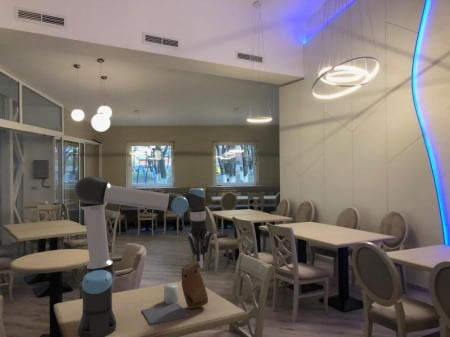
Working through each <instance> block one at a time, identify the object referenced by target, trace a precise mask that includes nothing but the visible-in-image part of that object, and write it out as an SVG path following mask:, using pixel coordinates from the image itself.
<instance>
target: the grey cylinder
mask: <svg viewBox="0 0 450 337" xmlns="http://www.w3.org/2000/svg"><path fill="white" fill-rule="evenodd" d="M178 301H179V285H178V284H176V283H167V284H164V285H163V303H164V304H165V305H171V304H176V303H178Z"/></svg>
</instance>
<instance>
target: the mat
mask: <svg viewBox="0 0 450 337" xmlns="http://www.w3.org/2000/svg"><path fill="white" fill-rule="evenodd" d="M141 312H142V314H143V315H144V318H145V319H146V321H147V322H148V323H149V325H150V326H152V325H153V326H154V325H157V324H161V323H167V322H172V321H175V320H180V319H186V318H189V317H190V315H189V314H188V313H187V311H186V310H185V309H184V308H183V307H182V306H181V305H180V304H179V303H178V302H177V303H175V304H165V305H161V306H156V307H150V308H146V309H141Z"/></svg>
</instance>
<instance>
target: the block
mask: <svg viewBox="0 0 450 337" xmlns="http://www.w3.org/2000/svg"><path fill="white" fill-rule="evenodd" d="M180 274H181V275H180V276H181V288H182V292H183V297H184V300H185V303H186V305H187V307H188V309H198V308H201V307H203V306H205V305H207V304H208V303H209V296H208V292H207V288H206V285H205V282H204V278H203V275H202V272H201V268H199V265H198V262H193V263H190V264H187V265H184V266H182V268H181V273H180Z"/></svg>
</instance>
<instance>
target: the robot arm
mask: <svg viewBox="0 0 450 337" xmlns="http://www.w3.org/2000/svg"><path fill="white" fill-rule="evenodd" d="M74 195H75V197H76V198H77V199H78V200H79V206H80V208H81V209H82V210H83V212H84V220H85V221H84V222H85V230H86V240H87V249H88V250H87V251H88V257H89V258H88V259H89V262H88V264H87V265H86V274H85V275H84V277H83V278H82V281H81V282H82V284H81V287H82V313H81V317H80V321H79V323H78V326H77V335H78V336H80V337H106V336H108V335H110V334H112V333H113V332H115V330H116V329H117V320H116V319H117V318H116V317H115V314H114V311H113V291H114V290H113V289H114V286H115V283H116V279H117V274H116V270H115V266H114V265H115V264H114V261H113V260H112V259H110V253H109V252H110V251H109V243H108V242H109V241H108V232H107V224H106V223H107V221H106V211H105V207H106V206H107V205H108V203H109V204H113V205H115V204H116V205H122V206H129V207H136V208H144V209H151V210H158V211H166V212H169V213H170V212H171V213H175V214H177V215H181V214H185V213H186V212H187V211H188V209H190V210H189V212H190V215H189V217H190V220H191V221H190V233H189V234H187V235H186V236H185V237H186V239H187V240H188V244H189V246H190V250H191V253H192V254H193V255H196V256H195V259H196V262H197V264H198V265H199V268H200V269H203V268H204V261H205V254H206V253H208V252H209V245H210V241H211V240H210V239H211V236H212V235H213V234H212V232H210V231H208V229H207V220H206V219H207V215H206V214H207V211H206V194H205V189H204V188H201V187H197V188H196V187H195V188H190V189H189V191H188V192H187V193H171V194H168V193H163V192H157V191H152V190H145V189H138V188H132V187H125V186H120V185H119V186H117V185H112V184H111V183H110V182H108V181H105V180H104V179H102V178H101V177H99V176H98V175H97V176H96V175H89V176H88V175H87V176H85V177H81V178H80V179H79V180H78V181H77V182H76V184H75V185H74ZM193 238H194V240H193Z"/></svg>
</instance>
